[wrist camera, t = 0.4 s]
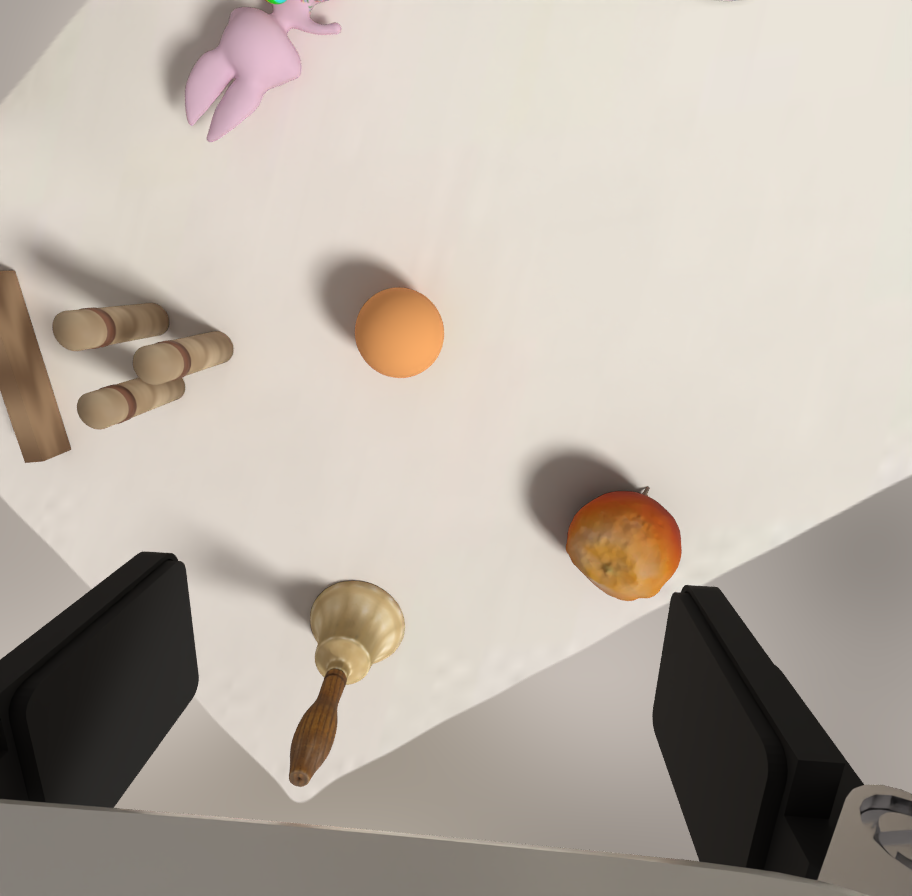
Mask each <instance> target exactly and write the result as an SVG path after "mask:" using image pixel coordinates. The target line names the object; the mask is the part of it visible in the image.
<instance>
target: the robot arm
mask: <svg viewBox="0 0 912 896" xmlns="http://www.w3.org/2000/svg"><path fill="white" fill-rule="evenodd" d="M718 1H736V0H718ZM198 681H199V675H198V667H197V658H196V650H195V642H194V633H193V625H192V617H191V608H190V600H189V592H188V583H187V575H186V568H185V565H184V563H183V562H181V561H178V559H177V557H176V556H175V555H174V554H173V553H159V552H140V553H139V554H137V555H136V556H134V557H133V558H132V559H131V560H129V561H128V562H127V563H125V564H124V565H123V566H121V567H120V568H119V569H118V570H116V571H115V572H114V573H112V574H111V575H110V576H108V577H107V578H106V579H105V580H103V581H102V582H101V583H99V584H98V585H97V586H95V587H94V588H93V589H92V590H90V591H89V592H88V593H86V594H85V595H84V596H83V597H81V598H80V599H79V600H77V601H76V602H75V603H73V604H72V605H71V606H69V607H68V608H67V609H66V610H64V611H63V612H62V613H60V614H59V615H58V616H56V617H55V618H54V619H53V620H51V621H50V622H49V623H47V624H46V625H45V626H43V627H42V628H41V629H40V630H38V631H37V632H36V633H34V634H33V635H32V636H31V637H29V638H28V639H27V640H25V641H24V642H23V643H21V644H20V645H19V646H17V647H16V648H15V649H14V650H12V651H11V652H10V653H8V654H7V655H6V656H5V657H3V658H2V659H1V660H0V896H912V794H911V793H909V792H906V791H904V790H902V789H897V788H893V787H889V786H885V785H864V784H863V783H862V781H861V780H860V778H859V777H858V776H857V774H856V773H855V772H854V770H853V769H852V768H851V766H850V765H849V763H848V762H847V761H846V760H845V758H844V756H843V755H842V754H841V752H840V751H839V750H838V748H837V747H836V745H835V744H834V743H833V741H832V740H831V739H830V737H829V736H828V734H827V733H826V732H825V730H824V729H823V728H822V726H821V725H820V723H819V722H818V721H817V719H816V718H815V717H814V715H813V714H812V712H811V711H810V710H809V708H808V707H807V706H806V705H805V703H804V702H803V700H802V699H801V697H800V696H799V695H798V693H797V692H796V690H795V689H794V688H793V686H792V685H791V684H790V682H789V681H788V680H787V678H786V677H785V675H784V674H783V673H782V671H781V670H780V669H779V668H778V667H777V666H776V665H774V664H773V662H772V661H771V659H770V658H769V657H768V655H767V654H766V653H765V651H764V650H763V649H762V647H761V646H760V644H759V643H758V642H757V640H756V639H755V637H754V636H753V635H752V633H751V632H750V630H749V629H748V628H747V626H746V625H745V623H744V622H743V621H742V619H741V618H740V616H739V615H738V614H737V612H736V611H735V609H734V608H733V607H732V605H731V604H730V603H729V601H728V600H727V598H726V597H725V596H724V594H723V593H722V592H721V590H720V589H719V588H718V587H707V586H691V585H685V586H684V587H683V589H682V591H681V593H678V592H674V593H673V594H672V597H671V601H670V607H669V613H668V619H667V626H666V632H665V638H664V644H663V651H662V657H661V663H660V669H659V675H658V681H657V688H656V694H655V700H654V707H653V727H654V731H655V735H656V738H657V741H658V743H659V747H660V749H661V752H662V755H663V758H664V761H665V763H666V766H667V769H668V772H669V775H670V778H671V781H672V784H673V787H674V789H675V792H676V795H677V798H678V801H679V804H680V807H681V809H682V812H683V815H684V818H685V821H686V824H687V826H688V829H689V832H690V835H691V838H692V841H693V844H694V846H695V850H696V852H697V855H698V858H699V861H700V862H698V861H691V860H684V859H672V858H661V857H650V856H641V855H632V854H621V853H612V852H603V851H591V850H582V849H571V848H561V847H549V846H539V845H527V844H518V843H507V842H496V841H486V840H475V839H466V838H465V839H464V838H454V837H444V836H434V835H423V834H411V833H400V832H389V831H378V830H367V829H366V830H365V829H355V828H344V827H333V826H322V825H310V824H299V823H286V822H275V821H264V820H253V819H241V818H230V817H216V816H204V815H193V814H180V813H169V812H155V811H144V810H132V809H119V808H114V806H115V805H116V804H117V802H118V801H119V799H120V798H121V797H122V795H123V794H124V792H125V791H126V790H127V788H128V787H129V786H130V784H131V783H132V781H133V780H134V778H135V777H136V776H137V774H138V773H139V772H140V770H141V769H142V768H143V766H144V765H145V764H146V762H147V761H148V759H149V758H150V757H151V755H152V754H153V752H154V751H155V750H156V748H157V747H158V746H159V744H160V743H161V741H162V740H163V738H164V737H165V736H166V734H167V733H168V732H169V730H170V729H171V727H172V726H173V725H174V723H175V722H176V721H177V719H178V718H179V716H180V715H181V714H182V712H183V711H184V709H185V708H186V707H187V705H188V704H189V702H190V701H191V700H192V698H193V697H194V695H195V693H196V690H197V687H198Z"/></svg>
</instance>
